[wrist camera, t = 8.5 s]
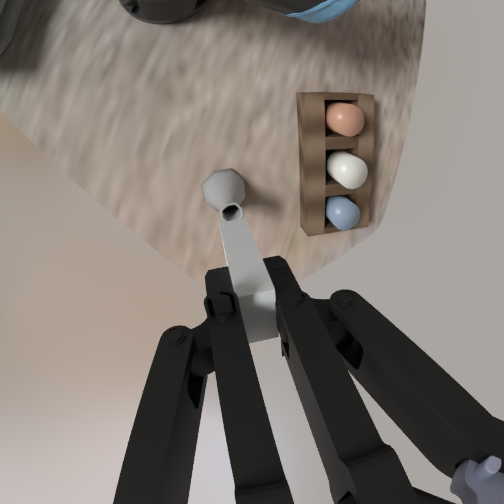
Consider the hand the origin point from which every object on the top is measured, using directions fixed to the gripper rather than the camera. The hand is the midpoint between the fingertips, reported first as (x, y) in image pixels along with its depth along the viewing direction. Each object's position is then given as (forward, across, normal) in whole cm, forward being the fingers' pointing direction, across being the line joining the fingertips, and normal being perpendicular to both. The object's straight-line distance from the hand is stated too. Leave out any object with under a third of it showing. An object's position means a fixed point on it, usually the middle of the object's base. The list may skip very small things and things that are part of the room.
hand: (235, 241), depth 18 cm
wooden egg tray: (+32, +21, -6) cm, 39 cm away
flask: (+32, +2, -8) cm, 33 cm away
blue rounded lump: (+30, +20, -14) cm, 39 cm away
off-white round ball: (+29, +21, -6) cm, 36 cm away
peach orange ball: (+30, +21, +2) cm, 37 cm away
